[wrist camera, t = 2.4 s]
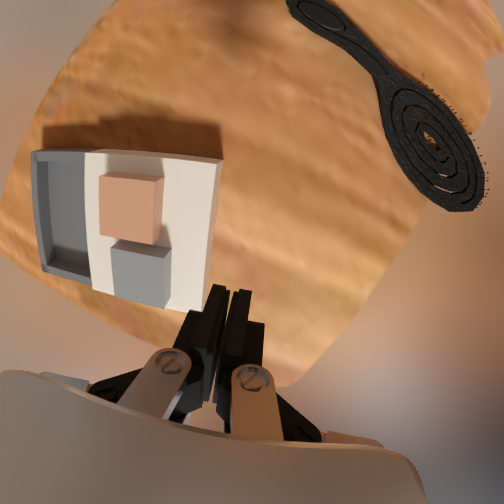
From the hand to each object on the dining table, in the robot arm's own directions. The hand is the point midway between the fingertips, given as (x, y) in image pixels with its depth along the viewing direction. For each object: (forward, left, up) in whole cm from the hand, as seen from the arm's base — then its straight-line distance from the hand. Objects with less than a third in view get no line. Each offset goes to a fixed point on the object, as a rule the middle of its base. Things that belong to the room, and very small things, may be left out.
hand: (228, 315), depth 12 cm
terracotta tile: (-1, -10, -11) cm, 15 cm away
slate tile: (+5, -9, -11) cm, 15 cm away
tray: (+2, -20, -14) cm, 24 cm away
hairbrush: (-14, +10, -15) cm, 23 cm away
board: (+2, -9, -14) cm, 17 cm away
